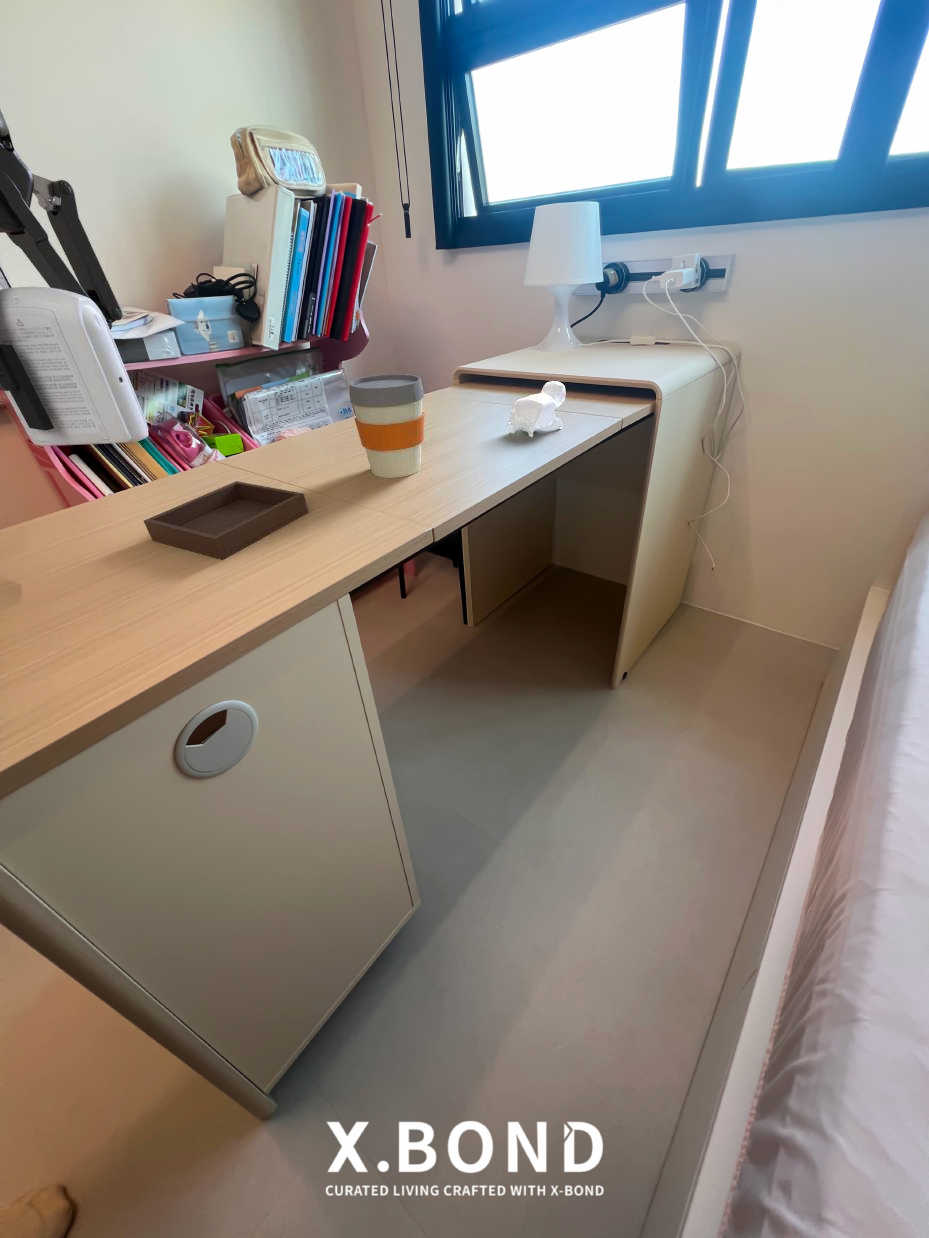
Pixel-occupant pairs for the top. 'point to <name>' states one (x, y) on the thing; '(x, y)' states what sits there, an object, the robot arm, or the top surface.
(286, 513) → the tray
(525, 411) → the white animal figurine
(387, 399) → the reusable coffee cup
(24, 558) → the top surface
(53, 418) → the photo printer
